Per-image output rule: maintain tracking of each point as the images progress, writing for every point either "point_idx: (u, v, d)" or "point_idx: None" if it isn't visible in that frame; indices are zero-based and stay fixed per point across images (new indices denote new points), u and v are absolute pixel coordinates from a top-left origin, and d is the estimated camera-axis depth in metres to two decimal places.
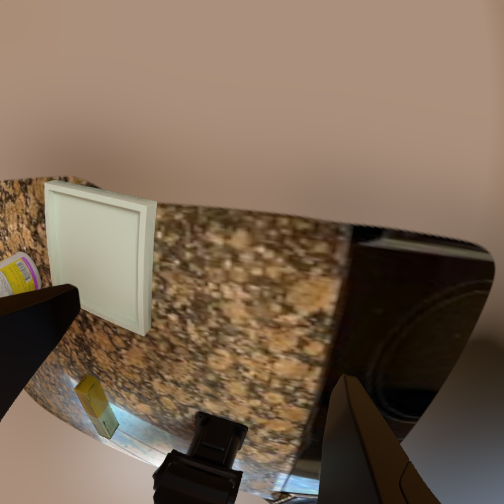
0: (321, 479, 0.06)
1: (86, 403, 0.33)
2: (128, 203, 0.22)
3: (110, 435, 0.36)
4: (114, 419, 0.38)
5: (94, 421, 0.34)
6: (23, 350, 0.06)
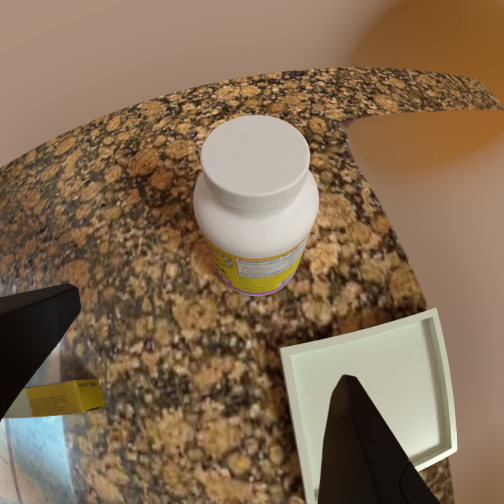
0: (321, 479, 0.06)
1: (55, 403, 0.16)
2: (455, 433, 0.16)
3: None
4: None
5: (19, 403, 0.15)
6: (23, 350, 0.06)
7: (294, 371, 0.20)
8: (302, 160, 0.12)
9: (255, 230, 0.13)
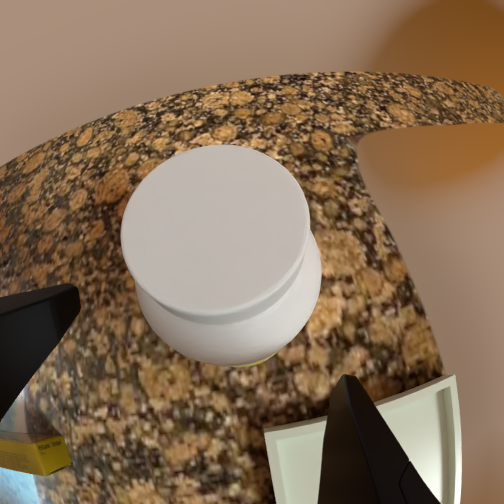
0: (321, 479, 0.06)
1: (18, 460, 0.10)
2: (458, 503, 0.10)
3: None
4: None
5: None
6: (22, 350, 0.06)
7: (281, 454, 0.14)
8: (294, 237, 0.07)
9: (217, 338, 0.08)
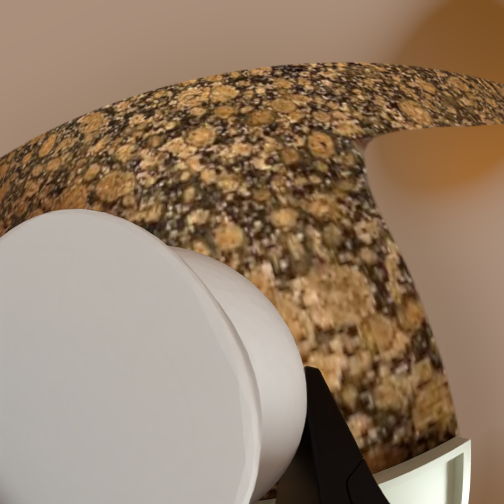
0: None
1: None
2: None
3: None
4: None
5: None
6: None
7: None
8: (212, 501, 0.02)
9: None
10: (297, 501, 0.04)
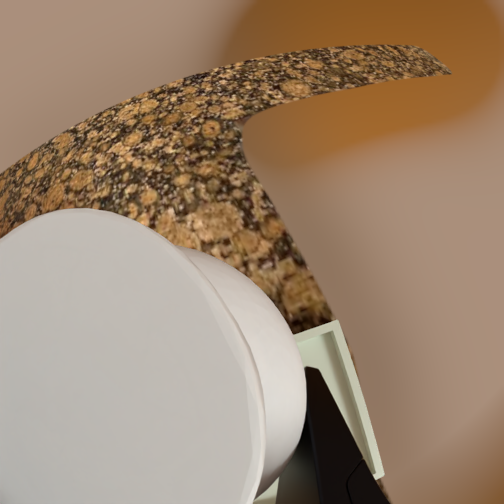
0: None
1: None
2: (378, 458, 0.16)
3: None
4: None
5: None
6: None
7: None
8: (218, 496, 0.02)
9: None
10: (297, 501, 0.04)
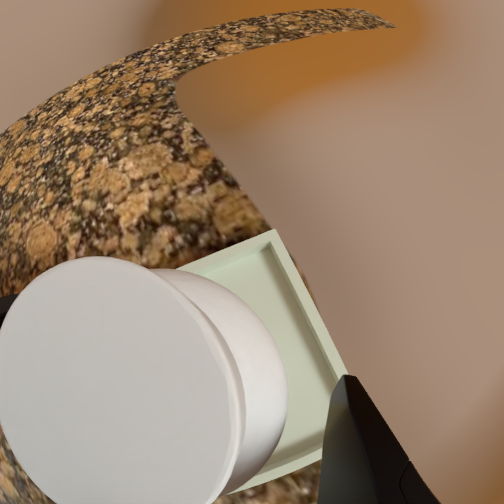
0: (321, 479, 0.06)
1: None
2: None
3: None
4: None
5: None
6: None
7: None
8: (208, 464, 0.03)
9: None
10: None
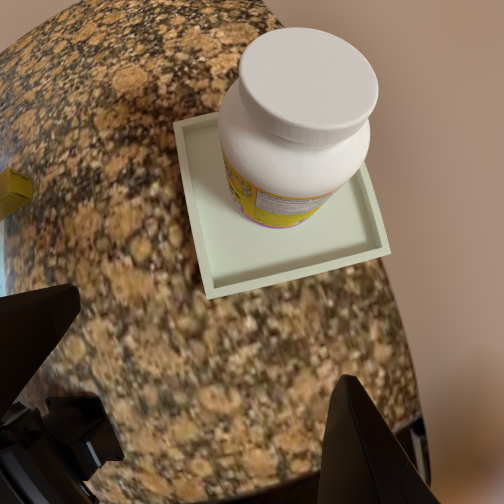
0: (321, 479, 0.06)
1: None
2: (383, 229, 0.20)
3: None
4: None
5: None
6: (22, 350, 0.06)
7: (189, 145, 0.21)
8: (368, 97, 0.08)
9: (290, 164, 0.10)
10: None
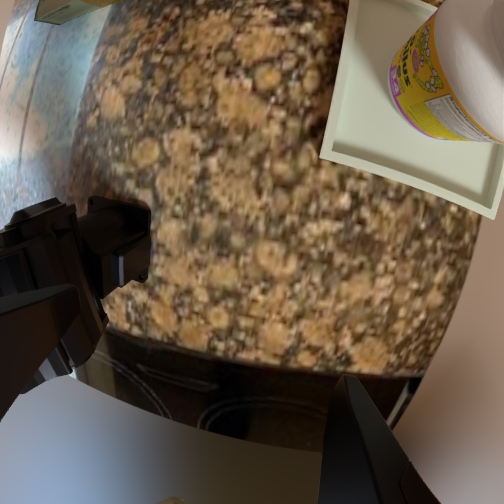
0: (321, 479, 0.06)
1: None
2: (499, 195, 0.14)
3: (41, 19, 0.14)
4: (69, 18, 0.16)
5: None
6: (23, 350, 0.06)
7: (360, 7, 0.13)
8: None
9: (500, 99, 0.06)
10: None
